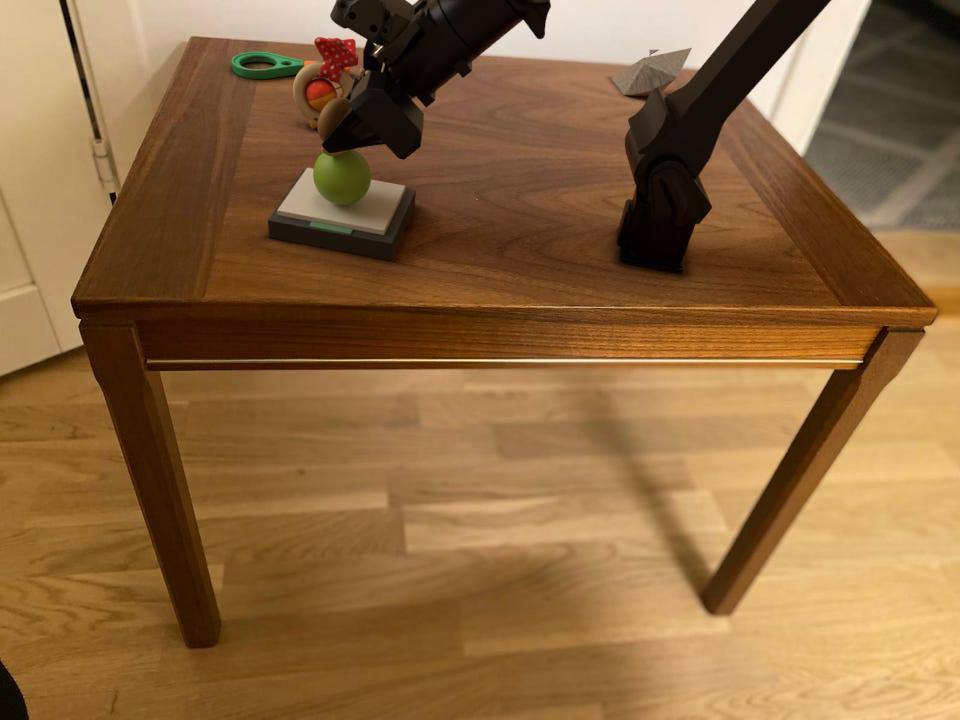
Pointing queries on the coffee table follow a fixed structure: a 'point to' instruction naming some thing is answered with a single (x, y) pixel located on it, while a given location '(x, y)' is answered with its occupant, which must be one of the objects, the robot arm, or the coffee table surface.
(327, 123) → the snail figurine
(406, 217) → the scale
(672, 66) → the paper boat
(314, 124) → the bird rattle
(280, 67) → the magnifying glass
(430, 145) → the coffee table surface
